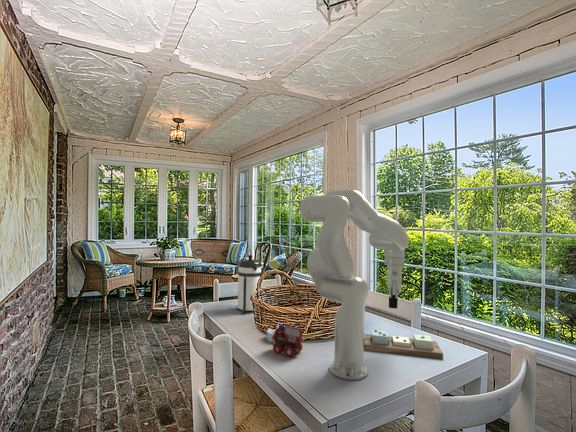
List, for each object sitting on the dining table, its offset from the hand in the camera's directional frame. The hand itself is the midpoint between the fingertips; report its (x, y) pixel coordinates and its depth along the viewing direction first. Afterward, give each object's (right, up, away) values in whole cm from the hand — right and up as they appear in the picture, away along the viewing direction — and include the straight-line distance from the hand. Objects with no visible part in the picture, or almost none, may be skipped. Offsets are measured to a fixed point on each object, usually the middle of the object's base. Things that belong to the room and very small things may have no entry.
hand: (392, 307), depth 126 cm
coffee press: (-63, -15, +46) cm, 80 cm away
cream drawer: (+3, -15, -1) cm, 16 cm away
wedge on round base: (-44, -15, +6) cm, 47 cm away
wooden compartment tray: (+3, -16, -1) cm, 16 cm away
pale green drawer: (+11, -14, -2) cm, 18 cm away
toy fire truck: (-42, -15, -7) cm, 45 cm away
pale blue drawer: (-5, -14, +1) cm, 15 cm away
